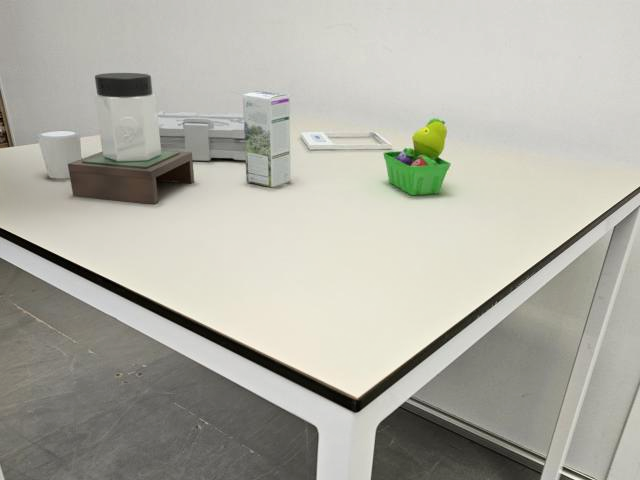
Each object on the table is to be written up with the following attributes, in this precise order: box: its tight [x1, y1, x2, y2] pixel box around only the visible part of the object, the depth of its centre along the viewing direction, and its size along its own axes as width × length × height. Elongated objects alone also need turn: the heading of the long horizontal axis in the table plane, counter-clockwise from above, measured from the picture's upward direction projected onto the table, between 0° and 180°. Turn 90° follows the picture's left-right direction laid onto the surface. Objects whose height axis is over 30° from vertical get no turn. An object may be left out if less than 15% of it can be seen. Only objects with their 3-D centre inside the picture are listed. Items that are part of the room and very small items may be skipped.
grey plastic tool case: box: [157, 110, 246, 162], centre depth 123 cm, size 19×28×8 cm
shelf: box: [68, 150, 195, 205], centre depth 97 cm, size 14×14×5 cm
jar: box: [93, 72, 161, 162], centre depth 93 cm, size 9×8×12 cm
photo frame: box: [300, 131, 393, 151], centre depth 136 cm, size 15×1×18 cm
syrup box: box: [242, 90, 292, 188], centre depth 101 cm, size 6×6×14 cm
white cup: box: [36, 129, 83, 180], centre depth 104 cm, size 7×7×7 cm
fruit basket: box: [383, 117, 452, 196], centre depth 101 cm, size 11×9×11 cm
